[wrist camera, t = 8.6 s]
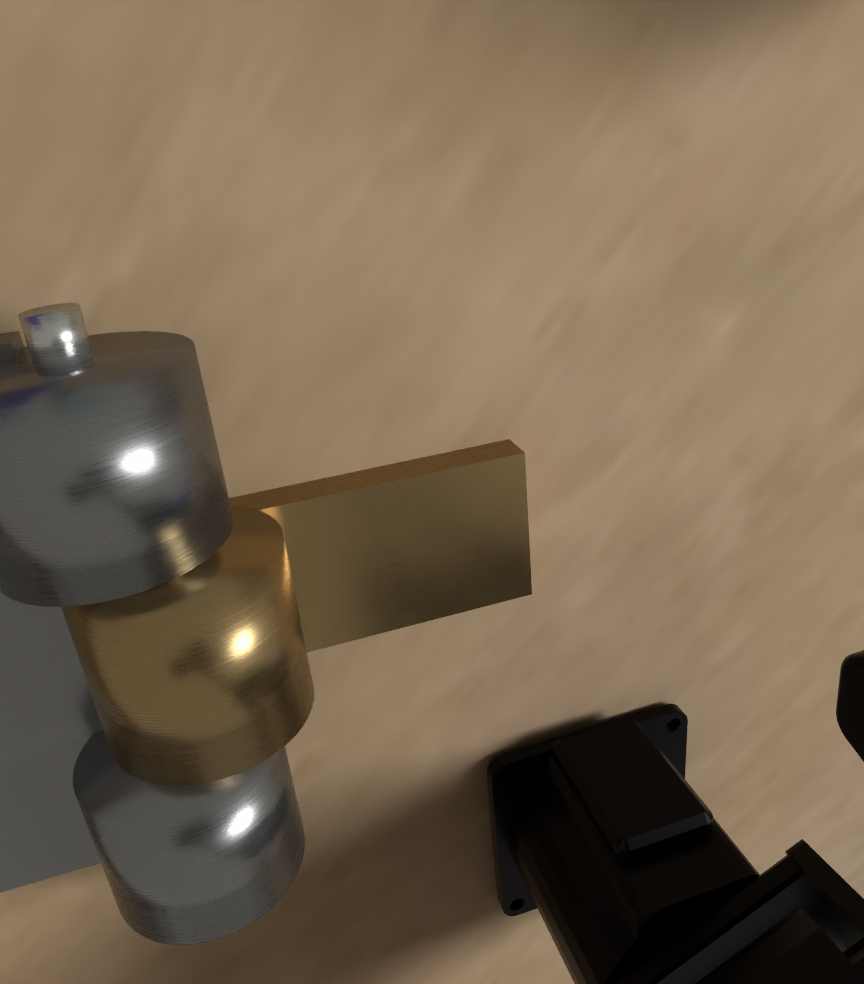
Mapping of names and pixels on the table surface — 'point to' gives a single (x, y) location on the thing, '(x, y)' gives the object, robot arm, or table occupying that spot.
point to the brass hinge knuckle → (297, 605)
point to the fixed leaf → (103, 577)
